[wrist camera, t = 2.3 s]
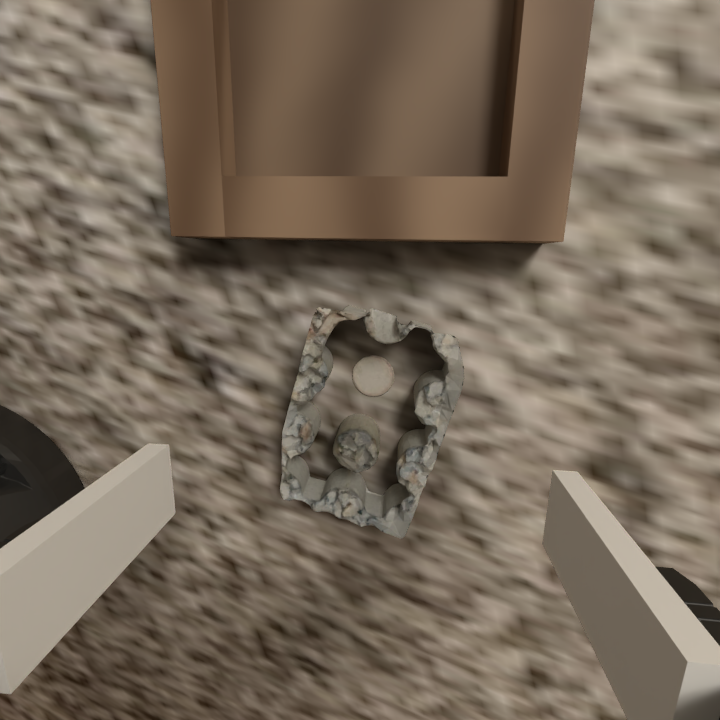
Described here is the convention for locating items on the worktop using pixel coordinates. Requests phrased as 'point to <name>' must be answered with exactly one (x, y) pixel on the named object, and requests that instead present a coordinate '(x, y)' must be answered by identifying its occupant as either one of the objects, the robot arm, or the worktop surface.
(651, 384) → the worktop surface
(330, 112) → the pocket board
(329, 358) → the egg carton
